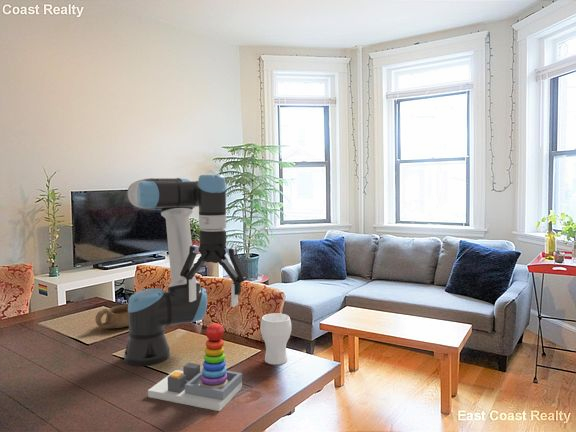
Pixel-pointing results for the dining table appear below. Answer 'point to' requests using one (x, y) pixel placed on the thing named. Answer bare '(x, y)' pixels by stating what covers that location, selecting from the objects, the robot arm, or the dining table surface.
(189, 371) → the toggle
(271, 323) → the cup
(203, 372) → the stacking toy
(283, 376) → the dining table surface
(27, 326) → the dining table surface
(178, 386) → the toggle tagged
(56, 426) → the dining table surface
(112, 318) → the brown mug
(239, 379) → the frame
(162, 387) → the panel
